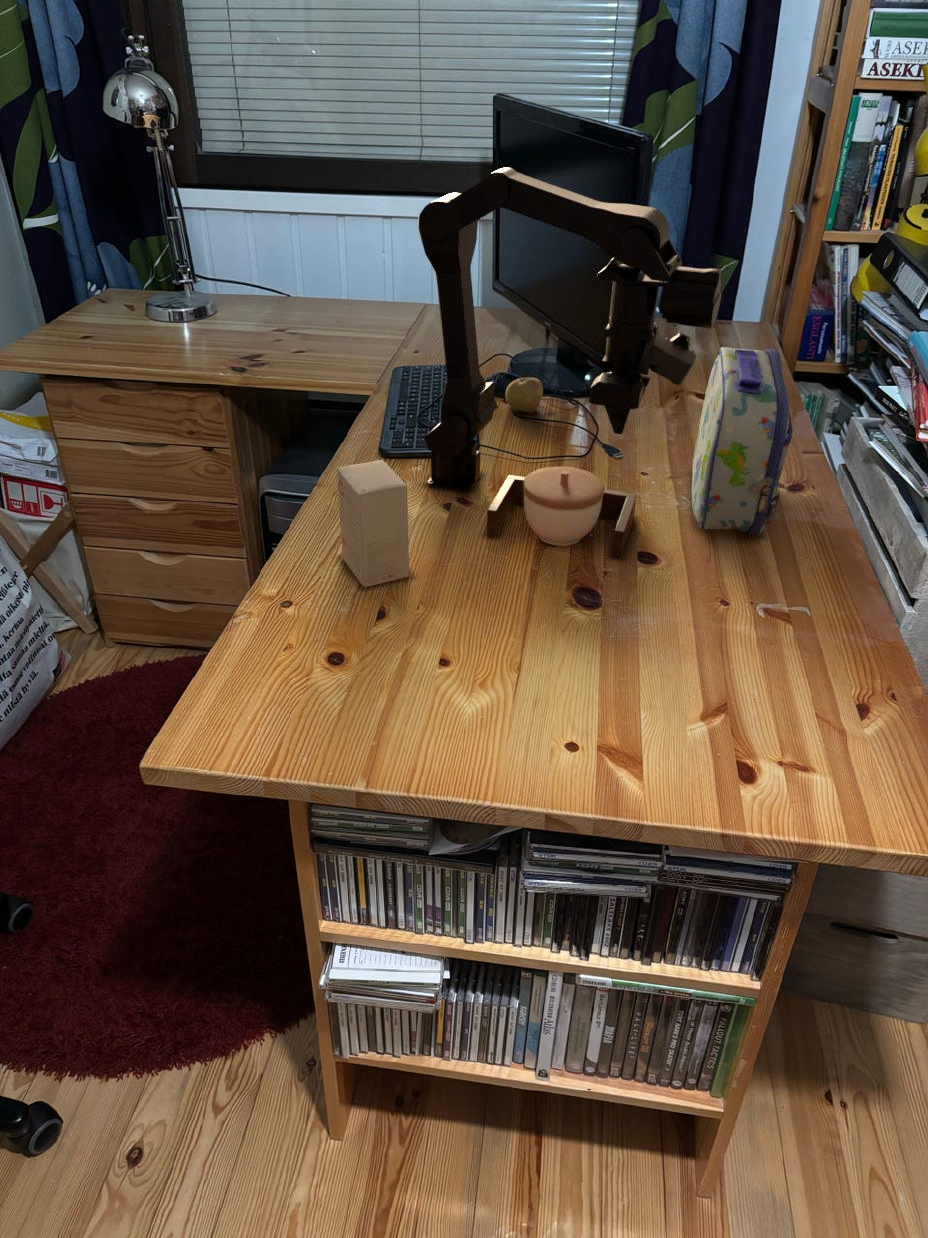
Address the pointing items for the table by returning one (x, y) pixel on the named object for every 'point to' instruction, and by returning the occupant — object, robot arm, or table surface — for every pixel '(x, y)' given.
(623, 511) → the walnut bay
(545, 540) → the trinket box
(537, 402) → the apple
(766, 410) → the lunch box
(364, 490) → the small box
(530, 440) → the table surface
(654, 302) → the robot arm
